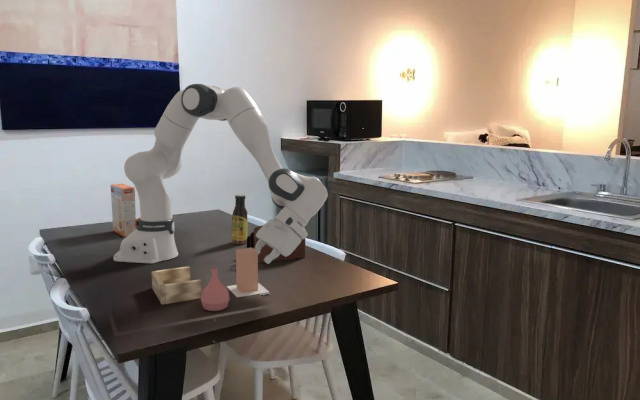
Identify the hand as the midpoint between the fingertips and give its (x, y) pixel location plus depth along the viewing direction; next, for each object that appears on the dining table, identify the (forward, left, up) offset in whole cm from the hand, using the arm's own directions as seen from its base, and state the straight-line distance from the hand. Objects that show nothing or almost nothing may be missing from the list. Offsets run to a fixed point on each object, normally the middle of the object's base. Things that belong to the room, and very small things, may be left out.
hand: (259, 257), depth 153 cm
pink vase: (-11, -16, -10) cm, 22 cm away
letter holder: (+4, +34, -11) cm, 36 cm away
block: (-4, -1, -9) cm, 10 cm away
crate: (-24, -4, -10) cm, 26 cm away
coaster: (-4, -1, -10) cm, 11 cm away
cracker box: (-63, +70, -10) cm, 94 cm away
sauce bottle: (-12, +54, -10) cm, 56 cm away
